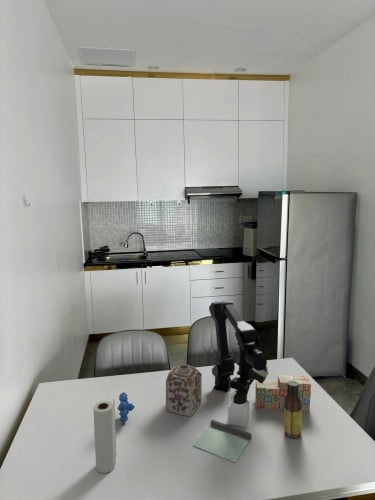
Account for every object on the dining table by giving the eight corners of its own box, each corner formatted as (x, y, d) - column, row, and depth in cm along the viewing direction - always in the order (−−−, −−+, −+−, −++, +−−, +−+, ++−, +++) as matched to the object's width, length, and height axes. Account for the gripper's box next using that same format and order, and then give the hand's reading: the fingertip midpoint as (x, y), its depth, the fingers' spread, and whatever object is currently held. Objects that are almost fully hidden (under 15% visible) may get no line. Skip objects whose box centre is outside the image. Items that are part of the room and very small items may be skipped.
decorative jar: (165, 411, 146) (164, 369, 144) (176, 396, 157) (176, 357, 154) (192, 418, 142) (192, 375, 139) (202, 402, 152) (202, 362, 150)
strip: (210, 425, 137) (210, 421, 137) (212, 423, 138) (212, 419, 138) (250, 439, 129) (250, 435, 129) (251, 437, 130) (251, 433, 130)
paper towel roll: (97, 476, 112) (95, 413, 109) (94, 463, 118) (91, 402, 115) (120, 469, 115) (118, 407, 112) (116, 456, 121) (114, 397, 118)
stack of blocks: (256, 408, 148) (257, 380, 146) (255, 400, 154) (255, 373, 152) (309, 412, 146) (311, 383, 144) (306, 403, 152) (308, 376, 150)
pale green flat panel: (193, 445, 126) (193, 445, 126) (208, 427, 136) (208, 426, 136) (235, 463, 118) (235, 462, 118) (248, 441, 128) (248, 441, 128)
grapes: (135, 430, 134) (134, 400, 133) (117, 432, 133) (116, 402, 132) (134, 412, 146) (134, 384, 144) (117, 413, 145) (117, 385, 143)
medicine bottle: (249, 417, 142) (249, 388, 141) (246, 428, 136) (246, 398, 134) (231, 413, 145) (231, 385, 143) (227, 424, 138) (227, 395, 136)
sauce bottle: (302, 431, 134) (305, 381, 131) (300, 441, 128) (302, 389, 125) (284, 426, 137) (286, 377, 134) (281, 436, 131) (283, 385, 128)
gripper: (257, 374, 130) (256, 414, 132) (273, 354, 146) (272, 390, 148) (229, 367, 136) (228, 405, 138) (247, 349, 152) (246, 383, 154)
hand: (245, 395), depth 144 cm, fingers closed
